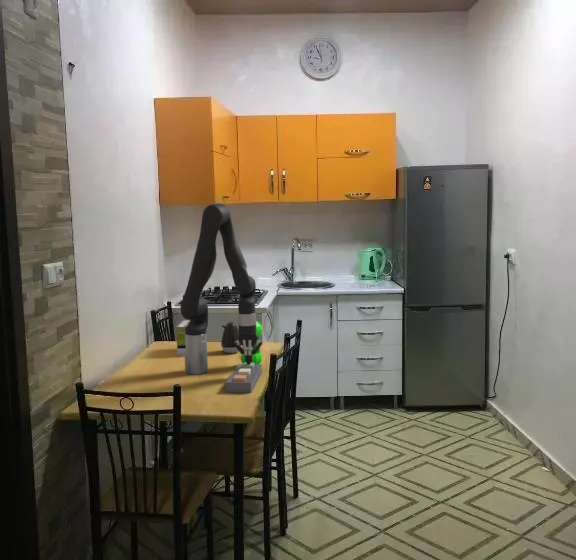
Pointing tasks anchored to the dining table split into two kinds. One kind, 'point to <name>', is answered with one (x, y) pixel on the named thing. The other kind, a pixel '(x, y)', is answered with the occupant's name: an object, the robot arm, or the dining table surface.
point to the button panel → (241, 385)
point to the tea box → (181, 337)
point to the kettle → (230, 337)
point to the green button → (248, 366)
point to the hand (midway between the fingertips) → (248, 363)
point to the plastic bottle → (257, 356)
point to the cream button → (244, 372)
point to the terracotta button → (240, 378)
